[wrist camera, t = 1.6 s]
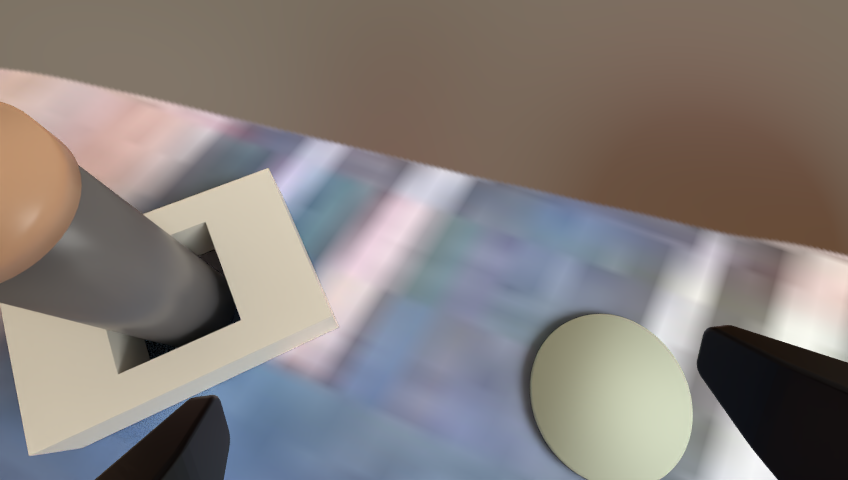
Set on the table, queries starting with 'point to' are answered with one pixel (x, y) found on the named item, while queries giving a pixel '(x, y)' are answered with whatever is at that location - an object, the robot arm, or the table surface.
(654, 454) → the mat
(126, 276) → the plug
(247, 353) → the square frame
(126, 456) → the robot arm
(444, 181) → the table surface
